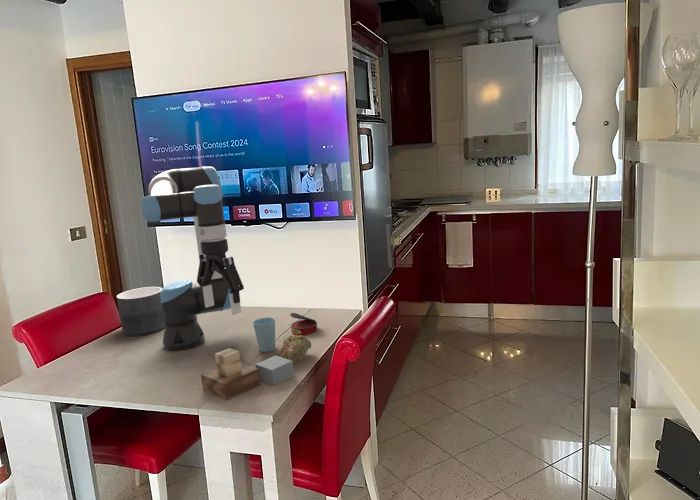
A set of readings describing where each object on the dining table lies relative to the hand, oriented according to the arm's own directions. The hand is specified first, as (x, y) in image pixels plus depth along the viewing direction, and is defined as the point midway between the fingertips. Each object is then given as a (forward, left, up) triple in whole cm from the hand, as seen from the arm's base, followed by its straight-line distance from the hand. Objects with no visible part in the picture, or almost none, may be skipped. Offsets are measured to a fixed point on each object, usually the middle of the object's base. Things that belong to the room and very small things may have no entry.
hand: (222, 309), depth 157 cm
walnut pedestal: (+2, -2, -23) cm, 23 cm away
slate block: (+8, +10, -24) cm, 27 cm away
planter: (-78, +12, -24) cm, 82 cm away
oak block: (+2, -2, -18) cm, 18 cm away
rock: (+2, +22, -24) cm, 33 cm away
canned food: (-15, +44, -24) cm, 52 cm away
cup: (-13, +24, -24) cm, 36 cm away
